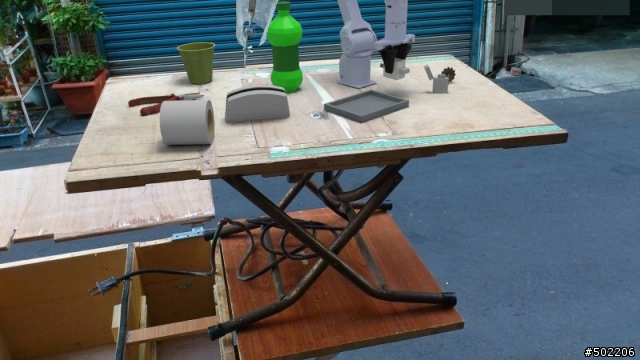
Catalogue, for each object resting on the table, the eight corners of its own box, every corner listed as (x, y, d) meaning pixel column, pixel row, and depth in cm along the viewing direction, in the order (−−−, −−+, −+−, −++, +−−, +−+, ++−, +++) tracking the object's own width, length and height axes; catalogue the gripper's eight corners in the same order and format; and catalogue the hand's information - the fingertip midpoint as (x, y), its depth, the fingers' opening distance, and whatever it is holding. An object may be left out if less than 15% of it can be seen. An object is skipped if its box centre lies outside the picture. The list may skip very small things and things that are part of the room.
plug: (376, 75, 154) (377, 57, 151) (385, 72, 156) (385, 55, 153) (402, 81, 147) (402, 63, 145) (410, 79, 149) (411, 61, 147)
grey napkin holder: (288, 110, 144) (288, 79, 136) (290, 121, 140) (290, 90, 133) (224, 115, 141) (221, 84, 134) (226, 127, 138) (222, 95, 130)
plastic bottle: (304, 84, 165) (301, -1, 154) (304, 94, 156) (300, 4, 145) (271, 85, 165) (266, 0, 154) (269, 95, 156) (263, 5, 145)
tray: (324, 110, 143) (323, 103, 142) (370, 95, 153) (371, 89, 153) (361, 123, 133) (361, 116, 132) (408, 106, 144) (409, 100, 143)
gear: (453, 82, 164) (455, 65, 161) (455, 82, 163) (456, 66, 161) (439, 83, 162) (440, 67, 160) (440, 84, 161) (442, 68, 159)
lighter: (446, 91, 155) (449, 64, 152) (447, 93, 154) (449, 65, 150) (421, 91, 156) (423, 64, 152) (422, 93, 154) (424, 65, 151)
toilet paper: (164, 151, 120) (156, 109, 116) (174, 135, 129) (168, 95, 125) (208, 150, 120) (203, 108, 116) (216, 134, 129) (211, 94, 125)
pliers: (211, 102, 152) (210, 93, 151) (142, 118, 142) (140, 109, 141) (194, 94, 161) (193, 85, 160) (127, 108, 150) (126, 99, 149)
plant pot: (205, 74, 178) (201, 40, 173) (226, 80, 171) (223, 45, 166) (174, 82, 171) (169, 46, 166) (195, 89, 163) (190, 52, 158)
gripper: (388, 27, 138) (386, 79, 144) (424, 20, 146) (421, 69, 152) (369, 24, 142) (367, 74, 148) (404, 16, 151) (402, 64, 157)
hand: (393, 71), depth 151 cm, fingers closed on plug, 3 cm apart
